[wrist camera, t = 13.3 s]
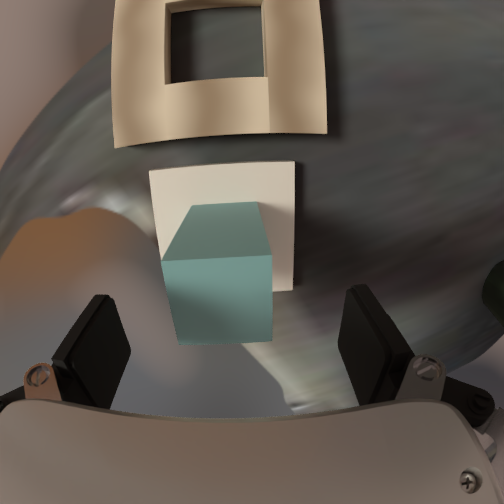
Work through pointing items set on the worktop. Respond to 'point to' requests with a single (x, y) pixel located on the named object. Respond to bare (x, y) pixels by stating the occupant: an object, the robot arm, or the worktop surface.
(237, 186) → the tile
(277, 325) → the worktop surface
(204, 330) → the teal block
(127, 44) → the pocket base
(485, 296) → the potion bottle
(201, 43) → the worktop surface
